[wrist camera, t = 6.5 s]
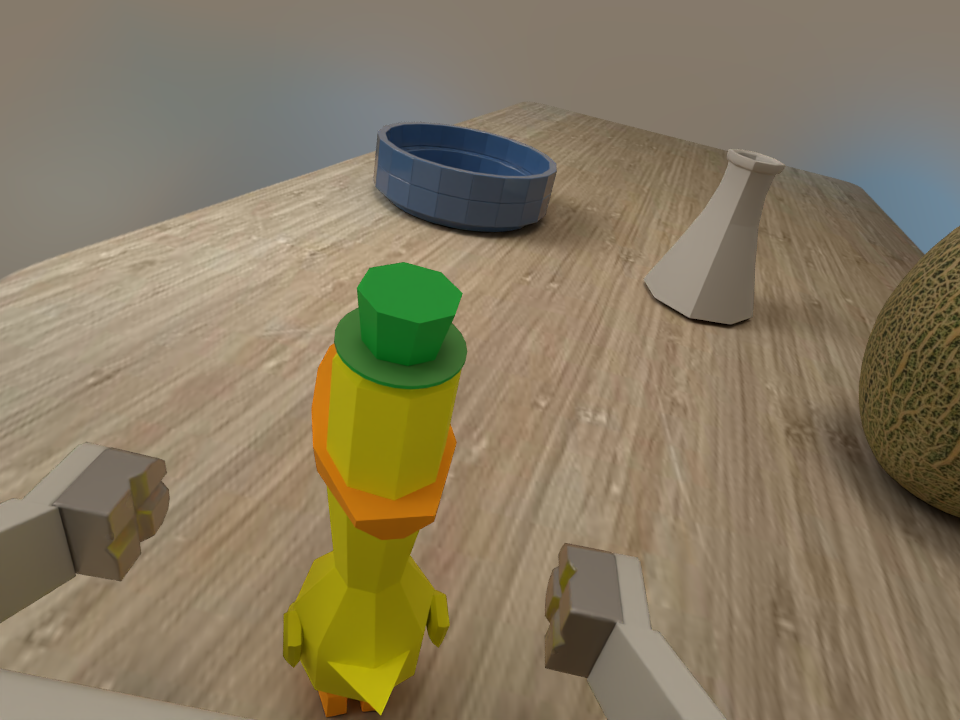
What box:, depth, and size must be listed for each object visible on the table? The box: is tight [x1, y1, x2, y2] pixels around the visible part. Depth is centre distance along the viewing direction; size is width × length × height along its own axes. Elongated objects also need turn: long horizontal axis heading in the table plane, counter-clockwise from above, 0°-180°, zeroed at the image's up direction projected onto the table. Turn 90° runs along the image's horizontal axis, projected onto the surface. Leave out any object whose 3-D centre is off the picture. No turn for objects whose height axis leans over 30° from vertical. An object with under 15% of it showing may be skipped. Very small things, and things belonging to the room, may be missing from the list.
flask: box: [644, 149, 785, 324], centre depth 39 cm, size 7×7×10 cm
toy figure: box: [283, 262, 467, 717], centre depth 13 cm, size 7×4×12 cm, turn 15°
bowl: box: [373, 122, 557, 232], centre depth 49 cm, size 14×14×4 cm
